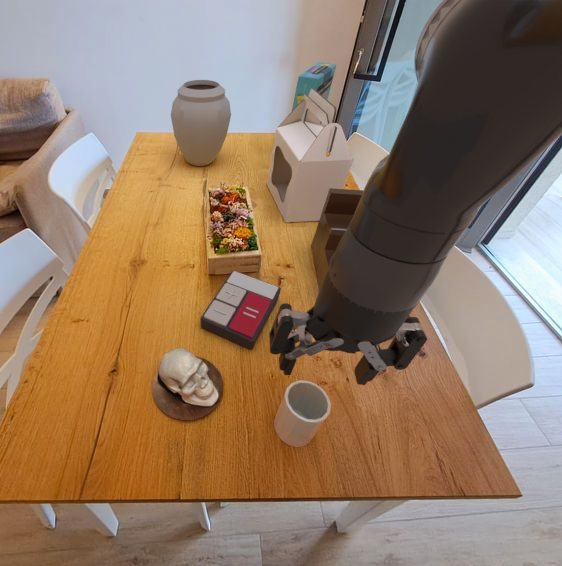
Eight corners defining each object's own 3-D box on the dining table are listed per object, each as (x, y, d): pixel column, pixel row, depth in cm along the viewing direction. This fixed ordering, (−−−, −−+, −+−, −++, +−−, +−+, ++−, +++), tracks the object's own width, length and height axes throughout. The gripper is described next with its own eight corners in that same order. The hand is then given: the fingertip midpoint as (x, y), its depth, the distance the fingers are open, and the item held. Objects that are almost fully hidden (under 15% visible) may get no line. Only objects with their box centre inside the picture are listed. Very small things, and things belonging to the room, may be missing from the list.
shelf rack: (407, 336, 63) (454, 275, 52) (326, 327, 65) (354, 267, 54) (373, 251, 82) (402, 192, 70) (310, 246, 83) (329, 188, 72)
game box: (298, 169, 113) (319, 78, 94) (280, 164, 116) (298, 75, 97) (315, 147, 126) (337, 63, 107) (299, 144, 128) (318, 61, 109)
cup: (321, 428, 51) (339, 401, 45) (298, 456, 48) (314, 431, 42) (289, 400, 55) (301, 372, 48) (265, 425, 52) (276, 398, 45)
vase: (226, 150, 125) (231, 76, 108) (228, 174, 111) (235, 94, 94) (174, 150, 126) (171, 76, 108) (170, 174, 112) (166, 94, 95)
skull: (241, 375, 57) (221, 382, 47) (210, 425, 58) (185, 441, 48) (188, 336, 62) (161, 336, 53) (161, 382, 63) (130, 389, 54)
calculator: (199, 316, 63) (232, 267, 71) (199, 329, 66) (231, 280, 74) (254, 339, 59) (282, 284, 67) (251, 352, 62) (278, 298, 70)
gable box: (266, 183, 106) (283, 85, 87) (306, 182, 107) (332, 83, 87) (285, 223, 90) (311, 114, 71) (332, 221, 91) (371, 111, 71)
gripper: (294, 299, 27) (263, 394, 38) (484, 319, 25) (393, 411, 37) (288, 243, 32) (262, 341, 44) (445, 256, 31) (375, 354, 42)
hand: (322, 373), depth 40 cm, fingers open, 8 cm apart
